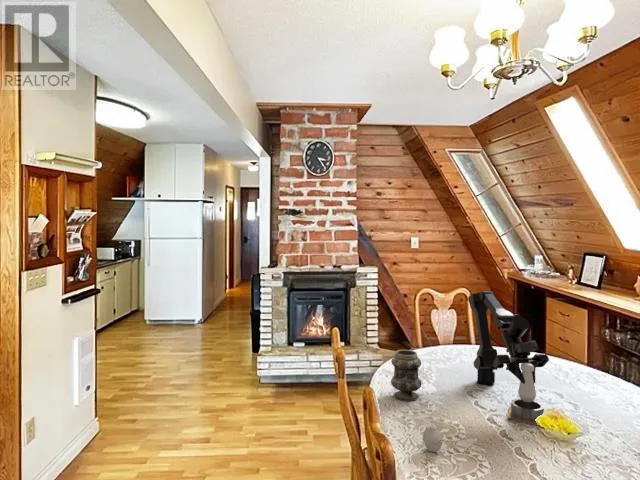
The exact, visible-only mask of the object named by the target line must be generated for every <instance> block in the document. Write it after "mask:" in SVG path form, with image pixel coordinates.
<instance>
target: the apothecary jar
mask: <svg viewBox="0 0 640 480" xmlns="http://www.w3.org/2000/svg"><path fill="white" fill-rule="evenodd" d="M391 364H392V367H394V369H393V370H394V371H393V373H394V374H393V376H392V377H391V378H390V379H391V380H390V384H391V386H392V387H393V388H394V389H395V390H396V392H395V393H394V394H393V398H395V399H397V400H398V401H403V402H412V401H417V400H419V397H420V395H419V394H418V393H416V392H415V391H418V390H419V389H420V388H421V387H422V380H421V379H420V378H419V368H420V367H421V365H422V360H421V359H420V358H419V357H418V353H417V351H414V350H410V349H398V350H396V351H395V354H394V356H393V357H392V358H391Z"/></svg>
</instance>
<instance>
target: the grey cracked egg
mask: <svg viewBox="0 0 640 480" xmlns="http://www.w3.org/2000/svg"><path fill="white" fill-rule="evenodd" d="M422 435H423V436H422V442H423V443H424V445H425V448H426V449H427V450H428V451H429V452H431V453H436V452H437V453H438V451H440V449H441V448H442V446H443V442H444V438H443V436H442V433H441V432H440V430H439V428H438V426H432V425H429V426H426V427H425V429H424V430H423V434H422Z"/></svg>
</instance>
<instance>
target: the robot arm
mask: <svg viewBox="0 0 640 480" xmlns="http://www.w3.org/2000/svg"><path fill="white" fill-rule="evenodd" d="M468 303H469V306H470V307H469V308H470V309H471V310H472V312H473V313H474V314H475V315H474V316H475V321H476V328H477V329H476V330H477V335H478V344H479V347H478V349H477V351H476V357H475V359H474V361H473V367H474V369H476V370H477V381H476V384H477V385H478V384H480V385H487V386H494V384H495V383H496V372H495V371H497V370H498V369H504V366H505V365H506V367H505V370H506V371H509V372H510V373H511V374H513V375H514V376H515V377H516V378H517V379H518V380H519V381H521V382H522V383H523V384H524V383H525V380H524V377H523V375H522V370H521V366H520V364H522V363H529V364H532V365H533V366H534V371H533V372H532V375H533V381H534V384H536V368H543V367H544V366H545V365H547V363H548V362H549V361H550V358H549V356H548V354H546V353H535V351H536V350H538V349H539V346H538V343H537V342H536V340H529V341H528V342H525V341H522V339H521V338H522V336H524V334H525V333H526V331H527V330H528V329H529V327H530V321H528V320H527V319H526V318H525V317H523V316H521V314H519V313H517V314H514V313H512V312H511V311H509V310H507V309H505V308H504V307H503V305H502V304H501V303H500V302H499V301H498V299H497V298H496V296H495V295H494V292H493V291H491V290H481V291H480V292H475V293H473V292H472V293H470V295H469V296H468ZM488 310H489V312H490V313H491V314H492V317H493V319H492V321H493V325H494V326H495V327H496V328H497V329H498V330H503V331H502V332H501V335H500V339H501V340H503V341H504V343H505V346H506V349H505V351H506V353H508V354H498V350H497V349H495V348H494V347H493V346H492V341H491V335H490V327H489V323H488V322H489V321H488V315H487V312H488ZM531 353H535V354H534V355H533V356H532V357H529V356H531Z"/></svg>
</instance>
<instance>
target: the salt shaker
mask: <svg viewBox="0 0 640 480" xmlns="http://www.w3.org/2000/svg"><path fill="white" fill-rule="evenodd" d="M520 364H521V365H520V370H521V372H522V375H523V377H524V380H525V383H524V384H523V383H522V382H521V381H520V380H519V381H520V382H519V386H518V391H517V393H518V396H519V399H521V400H523V401H525V402H533V401H535V399H536V397H537V392H536V391H537V390H536V386H535V383H534V381H533V375H532V372H533V371H534V366H533V365H532V364H529V363H520Z"/></svg>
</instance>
